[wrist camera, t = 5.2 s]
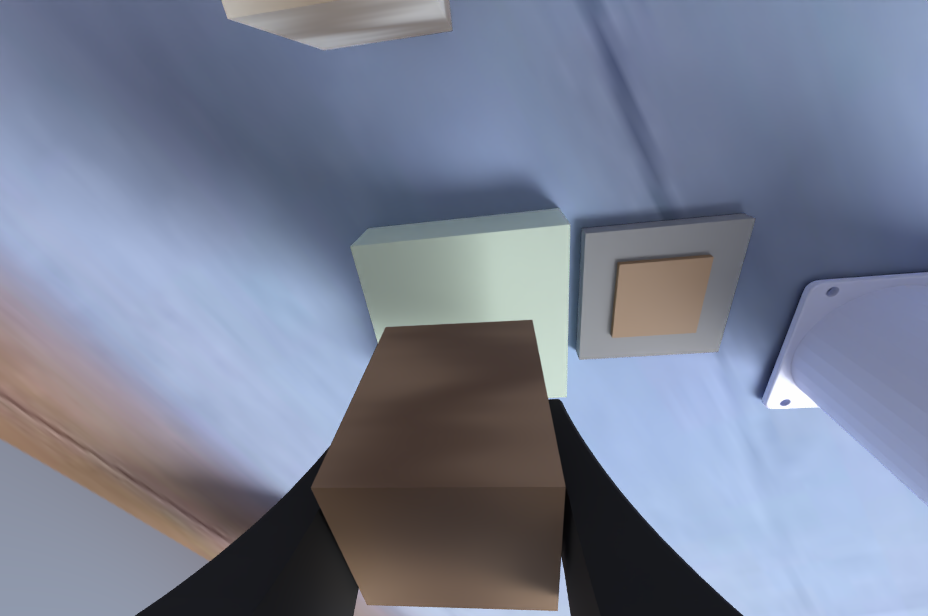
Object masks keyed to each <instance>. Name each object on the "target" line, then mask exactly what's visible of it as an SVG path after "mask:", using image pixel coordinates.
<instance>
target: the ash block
mask: <svg viewBox="0 0 928 616" xmlns="http://www.w3.org/2000/svg"><path fill="white" fill-rule="evenodd" d="M221 1H222V4H223V7H224V10H225V12H226V15H227V18H228V19H230V20H233V21H236V22H239V23H242V24H245V25H248V26H251V27H254V28H257V29H260V30H263V31H266V32H269V33H272V34H275V35H278V36H282V37H285V38H288V39H291V40H294V41H297V42H300V43H303V44H306V45H309V46H312V47H315V48H318V49H321V50H331V49H337V48H344V47H351V46H357V45H364V44H370V43H377V42H383V41H390V40H396V39H403V38H409V37H416V36H423V35H429V34H436V33H442V32H449V31H452V22H451V13H450V3H449V0H221Z"/></svg>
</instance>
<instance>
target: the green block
mask: <svg viewBox="0 0 928 616" xmlns="http://www.w3.org/2000/svg"><path fill="white" fill-rule="evenodd" d="M350 248H351V251H352V255H353V258H354V262H355V265H356V269H357V272H358V276H359V279H360V283H361V286H362V290H363V293H364V297H365V300H366V304H367V307H368V311H369V314H370V318H371V321H372V324H373V328H374V331H375V335H376V338H377V342H379V340H380V338H381V336H382V334H383V332H384V329H385V327H395V326H415V325H435V324H456V323H476V322H496V321H516V320H533V325H534V330H535V335H536V340H537V345H538V350H539V355H540V360H541V365H542V370H543V375H544V381H545V386H546V391H547V396H548V398H557V397H567V357H568V310H569V262H570V223H569V222H568V220H567V219H566V217H565V216H564V215H563V213H562V212H561V210H560V209H559V208H554V209H544V210H535V211H525V212H516V213H507V214H497V215H488V216H478V217H469V218H459V219H450V220H441V221H431V222H422V223H412V224H403V225H393V226H384V227H375V228H368V229H367V230H366V231H365V232H364V233H363V234H362V235H361V236H360V237H359V238H358V239H357V240H356V241H355V242H354V243H353V244H352V245H351V246H350Z"/></svg>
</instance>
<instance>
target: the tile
mask: <svg viewBox="0 0 928 616" xmlns="http://www.w3.org/2000/svg"><path fill="white" fill-rule="evenodd" d="M755 219H756V218H754V217H752V216H749V215H747V214H745V213H741V214H730V215H719V216H709V217H698V218H687V219H676V220H666V221H655V222H644V223H633V224H622V225H612V226H601V227H590V228H582V231H581V253H580V276H579V298H578V321H577V343H576V352H577V355H578V357H579V360H583V359H601V358H619V357H637V356H655V355H673V354H691V353H709V352H718V351H719V347H720V344H721V340H722V337H723V333H724V329H725V326H726V322H727V319H728V315H729V312H730V308H731V304H732V301H733V297H734V294H735V290H736V287H737V283H738V279H739V276H740V272H741V269H742V265H743V262H744V258H745V254H746V251H747V247H748V244H749V240H750V237H751V233H752V229H753V226H754V222H755Z"/></svg>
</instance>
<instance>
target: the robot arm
mask: <svg viewBox="0 0 928 616" xmlns="http://www.w3.org/2000/svg"><path fill="white" fill-rule="evenodd" d="M830 288H831V290H830V291H828V290H829V289H830ZM827 291H828V292H827ZM548 401H549V406H550V411H551V416H552V421H553V426H554V431H555V436H556V441H557V446H558V451H559V456H560V461H561V466H562V471H563V476H564V481H565V486H566V489H565V504H564V520H563V535H562V551H561V557H562V562H563V567H564V573H565V579H566V586H567V593H568V600H569V607H570V613H571V616H743V615H742V614H741V613H740V612H739V611H737V610H736V609H735V608H734V607H733V606H732V605H731V604H729V603H728V602H727V601H726V600H725V599H724V598H723V597H722V596H721V595H720V594H719V593H718V592H716V591H715V590H714V589H713V588H712V587H711V586H710V585H709V584H708V583H707V582H706V581H705V580H704V579H702V578H701V577H700V576H699V575H698V574H697V573H696V572H695V571H694V570H693V569H692V568H691V567H690V566H689V565H688V564H687V563H686V562H685V561H684V560H683V559H682V558H681V557H680V556H679V555H678V554H677V553H676V552H675V551H674V550H673V549H672V548H671V547H670V546H669V545H668V544H667V543H666V542H665V541H664V540H663V539H662V538H661V537H660V536H659V534H658V533H657V532H656V531H655V530H654V529H653V528H652V527H651V526H650V525H649V524H648V522H647V521H646V520H645V519H644V518H643V517H642V516H641V515H640V514H639V512H638V511H637V510H636V509H635V508H634V507H633V505H632V504H631V503H630V502H629V501H628V500H627V498H626V497H625V496H624V495H623V493H622V492H621V491H620V490H619V488H618V487H617V486H616V485H615V483H614V482H613V481H612V479H611V478H610V477H609V476H608V474H607V473H606V472H605V470H604V469H603V468H602V466H601V465H600V463H599V462H598V461H597V459H596V458H595V456H594V455H593V453H592V452H591V450H590V449H589V448H588V446H587V445H586V443H585V442H584V440H583V439H582V437H581V435H580V434H579V432H578V431H577V429H576V427H575V426H574V424H573V422H572V420H571V419H570V417H569V415H568V413H567V411H566V409H565V407H564V405H563V403H562V402H561V401H560V400H559V399H550V400H548ZM762 403H763V404H764V405H765V406H766V407H767V408H769V409H783V408H809V407H820V408H821V409H822V410H823V411H824V412H825V413H826V414H827V415H829V416H830V417H831V418H832V419H833V420H834V421H835V422H836V423H837V424H838V425H839V426H841V427H842V428H843V429H844V430H845V431H846V432H847V433H848V434H849V435H850V436H851V437H853V438H854V439H855V440H856V441H857V442H858V443H859V444H860V445H861V446H862V447H864V448H865V449H866V450H867V451H868V452H869V453H870V454H871V455H872V456H873V457H874V458H876V459H877V460H878V461H879V462H880V463H881V464H882V465H883V466H884V467H885V468H887V469H888V470H889V471H890V472H891V473H892V474H893V475H894V476H895V477H896V478H897V479H899V480H900V481H901V482H902V483H903V484H904V485H905V486H906V487H907V488H908V489H909V490H911V491H912V492H913V493H914V494H915V495H916V496H917V497H918V498H919V499H920V500H922V501H923V502H924V503H925V504H926V505H927V506H928V272H921V273H907V274H894V275H880V276H866V277H853V278H839V279H825V280H817V281H813V282H811V283H809V284H808V285H807V286H806V287H805V289H804V291H803V293H802V296H801V299H800V301H799V304H798V307H797V309H796V312H795V314H794V317H793V320H792V322H791V325H790V327H789V330H788V333H787V335H786V338H785V341H784V343H783V346H782V348H781V351H780V354H779V356H778V359H777V361H776V364H775V367H774V369H773V372H772V374H771V377H770V380H769V382H768V385H767V388H766V390H765V393H764V395H763V398H762ZM328 450H329V448H328V449H327V450H326V451H325V452H324V454H323V455H322V456H321V457H320V458H319V459H318V461H317V462H316V463H315V464H314V465H313V466H312V467H311V468H310V469H309V471H308V472H307V473H306V474H305V475H304V476H303V477H302V478H301V479H300V480H299V481H298V482H297V483H296V484H295V486H294V487H293V488H292V489H291V490H290V491H289V492H288V493H287V494H286V495H285V496H284V497H283V498H282V499H281V500H280V501H279V502H278V503H277V504H276V505H275V506H274V507H273V508H272V509H270V510H269V511H268V512H267V513H266V514H265V515H264V516H263V517H262V518H261V519H260V520H259V521H258V522H256V523H255V524H254V525H253V526H252V527H251V528H250V529H248V530H247V531H246V532H245V533H244V534H242V535H241V536H240V537H239V538H238V539H237V540H235V541H234V542H233V543H232V544H231V545H229V546H228V547H227V548H226V549H225V550H223V551H222V552H221V553H220V554H219V555H217V556H216V557H215V558H214V559H212V560H211V561H210V562H209V563H207V564H206V565H205V566H203V567H202V568H201V569H200V570H198V571H197V572H196V573H194V574H193V575H192V576H190V577H189V578H188V579H186V580H185V581H184V582H182V583H181V584H180V585H179V586H177V587H176V588H174V589H173V590H171V591H170V592H169V593H167V594H166V595H164V596H163V597H162V598H160V599H159V600H157V601H156V602H154V603H153V604H151V605H150V606H148V607H147V608H146V609H144V610H143V611H141V612H140V613H138V614H137V615H135V616H353V615H354V609H355V604H356V599H357V594H358V589H359V587H358V585H357V583H356V581H355V579H354V577H353V575H352V572H351V570H350V568H349V566H348V564H347V562H346V560H345V558H344V556H343V554H342V552H341V550H340V548H339V546H338V543H337V541H336V539H335V537H334V535H333V533H332V531H331V529H330V527H329V525H328V523H327V521H326V519H325V516H324V514H323V512H322V510H321V508H320V506H319V504H318V502H317V500H316V498H315V496H314V494H313V492H312V490H311V486H312V484H313V482H314V480H315V478H316V475H317V473H318V471H319V469H320V467H321V465H322V463H323V460H324V458H325V456H326V454H327V452H328Z"/></svg>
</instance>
